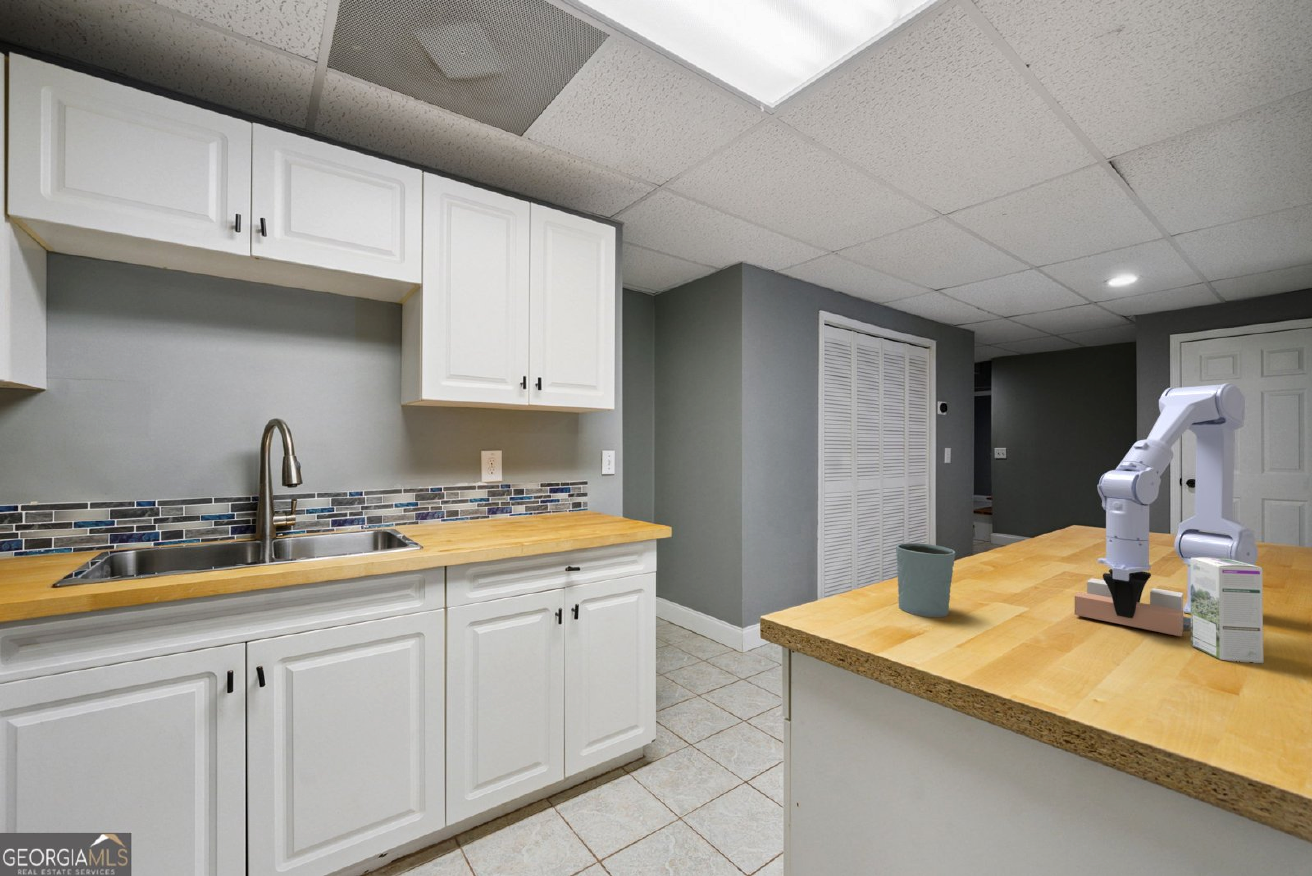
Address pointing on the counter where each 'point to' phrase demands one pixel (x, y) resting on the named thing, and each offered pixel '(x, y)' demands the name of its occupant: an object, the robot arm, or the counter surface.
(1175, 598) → the arch base
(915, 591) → the grey green cup
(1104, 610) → the beam
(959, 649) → the counter surface
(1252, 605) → the syrup box
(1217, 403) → the robot arm
